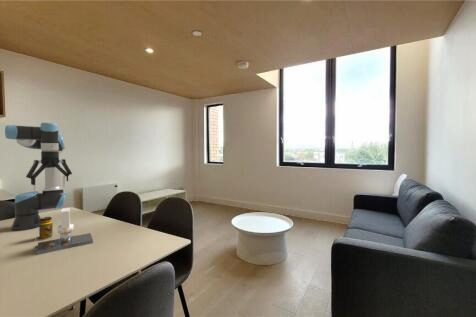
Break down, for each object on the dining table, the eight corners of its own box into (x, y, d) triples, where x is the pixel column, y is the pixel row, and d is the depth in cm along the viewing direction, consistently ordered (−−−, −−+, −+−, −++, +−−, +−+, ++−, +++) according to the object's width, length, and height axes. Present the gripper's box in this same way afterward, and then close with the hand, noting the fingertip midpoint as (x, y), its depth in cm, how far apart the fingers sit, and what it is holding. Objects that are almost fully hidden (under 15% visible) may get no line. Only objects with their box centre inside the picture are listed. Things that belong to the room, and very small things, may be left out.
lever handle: (58, 230, 127) (58, 208, 127) (73, 227, 132) (73, 207, 131) (57, 235, 119) (56, 212, 119) (73, 232, 123) (73, 211, 123)
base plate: (38, 245, 124) (38, 232, 124) (90, 235, 139) (90, 224, 139) (36, 254, 113) (36, 240, 113) (92, 242, 128) (92, 230, 128)
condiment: (52, 238, 134) (52, 218, 134) (33, 241, 129) (33, 220, 129) (54, 234, 140) (53, 215, 140) (36, 237, 136) (35, 217, 135)
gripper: (23, 151, 112) (24, 193, 114) (78, 150, 134) (78, 186, 136) (17, 150, 116) (18, 191, 117) (71, 150, 138) (72, 185, 139)
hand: (50, 188), depth 126 cm, fingers open, 13 cm apart
